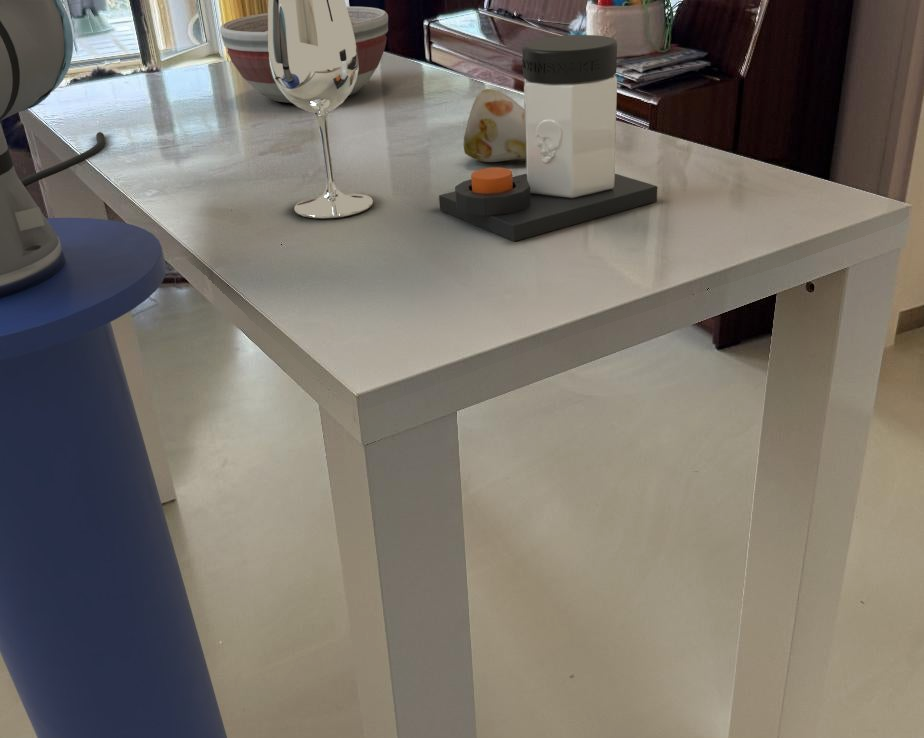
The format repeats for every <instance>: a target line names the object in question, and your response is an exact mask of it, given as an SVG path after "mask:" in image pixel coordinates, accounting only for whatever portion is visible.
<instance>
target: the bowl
mask: <svg viewBox="0 0 924 738" xmlns="http://www.w3.org/2000/svg"><path fill="white" fill-rule="evenodd" d="M346 6H347V5H346ZM347 10H348V14H349V17H350V21H351V24H352V28H353V32H354V37H355V42H356V47H357V53H358V67H359V70H358V76H357V81H356V83H355V85H354V87H353V89H352V92H351V93H350V94H349V95H348V96H349V97H350V96H352V95H354V94H356V93H357V92H359V91H360V90H361V89H362V88H363V87H364V85H366V84H367V83H368V82H369V81H370V80H371V79H372V77H373V75H374V73H375V72H376V70H377V68H378V67H379V65H380V62H381V60H382V57H383V55H384V52H385V49H386V45H387V40H388V37H387V33H388V32H389V14H388V13H387V12H386V10H384V9H380V8H378V7H371V6H369V7H368V6H347ZM219 32H220V35H221V39H222V42H223V46H224V47H225V48H226V50H227V55H228V57H229V59H230V61H231V63H232V64H233V66H234V67H235V69H236V70H237V71H238V74H240V76H241V77H242V78H243V80H245V81H246V82H247V83H248V84H249V86H251V87H252V88H253V89H254V90H255V91H256V92H258V93H260V94H261V95H263V96H264V97H266V98H268V99H269V100H271V101H273V102H278V103H287V104H288V103H289V104H293V103H292V102H291V101H289V100H288V99H287V98H286V97H285V96H284V95H283V93H282V92H281V91H280V90H279V88H278V87H277V85H276V83H275V81H274V78H273V76H272V71H271V67H270V60H269V50H268V12H262V13H257V14H252V15H247V16H243V17H238V18H235V19H232V20H229V21H227V22H224V23H223V24H221V25H220V28H219ZM348 96H347V97H348Z"/></svg>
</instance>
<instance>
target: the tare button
mask: <svg viewBox="0 0 924 738" xmlns="http://www.w3.org/2000/svg"><path fill="white" fill-rule="evenodd" d="M512 177H513V171H512V170H511V169H510V168H506V167H484V168H480V169H477V170H474V171H472V172H471V174H470V180H471V182H472V191H473V192H475V193H484V194H491V193H501V192H505V191H509V190H512V189H513V178H512Z"/></svg>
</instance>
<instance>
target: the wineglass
mask: <svg viewBox="0 0 924 738" xmlns="http://www.w3.org/2000/svg"><path fill="white" fill-rule="evenodd" d="M267 13H268V50H269V60H270V67H271V71H272V76H273V78H274V81H275V83H276V85H277V87H278V88H279V90H280V91H281V92H282V93H283V95H284V96H285V97H286V98H287V99H288V100H289V101H291V102H292V103H291V104H293V105H294V106H296V107H297V108H299V109H301V110H303V111H305V112H308V113H312V115H313V116H314V118H315V121H316V124H317V128H318V132H319V136H320V142H321V149H322V156H323V164H324V171H325V179H326V180H325V181H326V183H325V189H324V191H323V192H322V193H321V194H317V195H313V196H309V197H307V198H304V199H302V200H300V201H298V202H297V203H295V205H294V209H293V210H294V213H295V214H296V215H298V216H301V217H303V218H308V219H317V220H329V219H339V218H346V217H351V216H354V215H357V214H360V213H362V212H365V211H367V210H369V209H370V208H371V207H373V204H374V200H373V198H372V197H371V196H369V195H367V194H364V193H362V192H361V193H360V192H351V191H341V190H340V189H339V188H338V185H337V184H336V182H335V181H336V180H335V177H334V170H333V162H332V154H331V147H330V141H329V140H330V137H329V116H330V112H331V111H334V110H335V109H336V108H338V107H339V106H340V105H342V104H343V103H344V102H345V100H346V99H347V98H348V95H349V94H350V93H351V92H352V89H353V87H354V85H355V83H356V81H357V76H358V70H359V67H358V53H357V47H356V42H355V37H354V32H353V28H352V24H351V21H350V17H349V14H348V10H347V3H346V0H268V1H267ZM349 96H350V95H349Z"/></svg>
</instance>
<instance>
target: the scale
mask: <svg viewBox="0 0 924 738" xmlns="http://www.w3.org/2000/svg"><path fill="white" fill-rule="evenodd" d="M512 178H513V189H512V190H509V191H505V192H501V193H491V194H484V193H475V192H473V191H472V182H471V179H467V180H464V181H462V182H460V183H458V184H457V185H455V186H454V191H451V192H446V193H442V194H439V195H438V202H439V203H438V204H439V211H442V212H444V213H446V214H449V215H451V216H454V217H456V218H458V219H461V220H463V221H465V222H467V223H470V224H472V225H475V226H477V227H480V228H482V229H484V230H486V231H489V232H491V233H493V234H496V235H499V236H501V237H503V238H505V239H507V240H511V241H513V242H517V241H520V240H524V239H529V238H531V237H535V236H538V235H542V234H546V233H549V232H552V231H556V230H560V229H564V228H567V227H571V226H574V225H578V224H582V223H584V222H588V221H591V220H595V219H599V218H603V217H606V216H610V215H614V214H617V213H621V212H624V211H628V210H631V209H635V208H638V207H641V206H645V205H650V204H652V203H657V201H658V189H659V187H658V185H655V184H652V183H648V182H645V181H641V180H639V179H635V178H631V177H629V176H626V175H625V176H624V175H621V174H619V173H615V179H614V188H613V189H610V190H606V191H602V192H597V193H593V194H589V195H584V196H580V197H576V198H565V197H557V196H548V195H539V194H530V185H529V183H528V181H526V173H523V174H519V175H515V176H512Z"/></svg>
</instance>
